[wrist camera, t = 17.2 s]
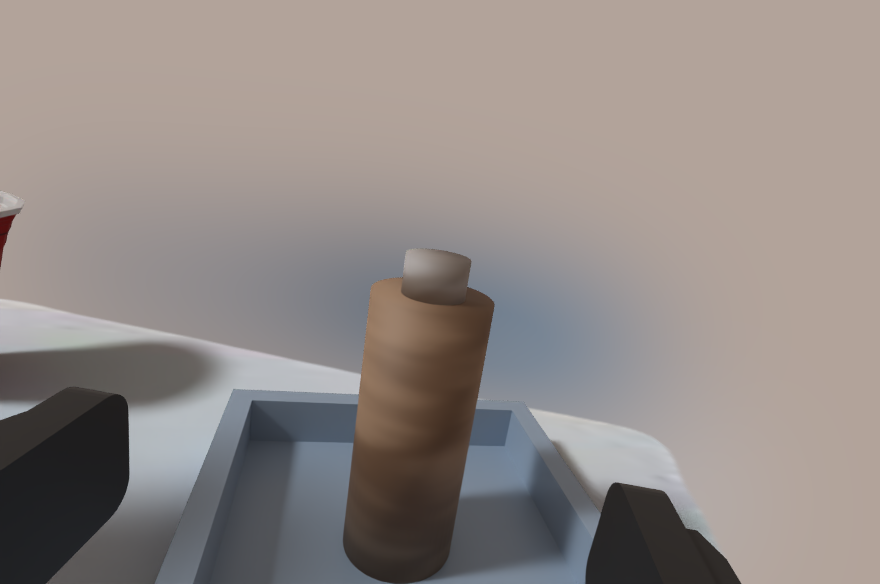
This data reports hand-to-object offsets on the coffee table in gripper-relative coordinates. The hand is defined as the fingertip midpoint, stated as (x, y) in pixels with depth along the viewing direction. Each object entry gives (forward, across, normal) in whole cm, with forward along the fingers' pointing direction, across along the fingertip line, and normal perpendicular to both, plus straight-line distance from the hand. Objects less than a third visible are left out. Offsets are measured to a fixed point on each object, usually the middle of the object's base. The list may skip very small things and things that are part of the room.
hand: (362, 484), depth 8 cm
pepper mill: (+12, 0, -12) cm, 18 cm away
